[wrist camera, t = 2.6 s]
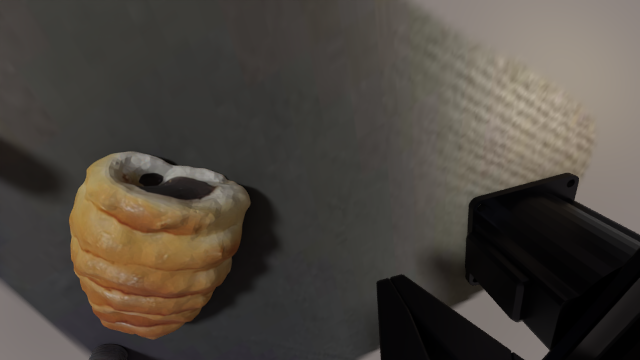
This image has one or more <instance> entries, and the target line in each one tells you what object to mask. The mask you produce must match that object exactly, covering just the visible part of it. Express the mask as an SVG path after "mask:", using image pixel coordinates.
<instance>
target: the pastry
mask: <svg viewBox="0 0 640 360" xmlns="http://www.w3.org/2000/svg"><path fill="white" fill-rule="evenodd" d="M249 206H250V198H249V194H248V193H247V191H246V190H245V189H244V188H243V187H242V186H241V185H238V184H236V183H235V182H234V181H229V180H227V179H226V178H225V176H224V175H222V174H220V173H217V172H214V171H211V170H208V169H205V168H194V167H190V166H173V165H171V164H169V163H167V162H165V161H164V160H162V159H159V158H157V157H154V156H151V155H147V154H142V153H138V152H132V151H131V152H122V153H115V154H110V155H108V156H106V157H104V158H102V159H100V160H98V161H96V162H95V163H93V164H92V165H91V166H90V167H89V168H88V169H87V177H86V179H85V182H84V183H83V184H82V185H81V186H80V188H79V189H78V192H77V194H76V197H75V202H74V208H73V210H72V212H71V215H70V218H69V223H70V228H71V234H72V240H71V259H72V261H73V263H74V271H75V274H76V275H77V276H78V277H79V278H80V283H81V286H82V290H83V291H85V293H86V294H87V296H88V300H89V302H90V304H91V305H92V308H93V312H94V313H95V315H97V316H98V317H99V318H100V320H101V322H102V324H103V325H104V326H105V327H107V328H109V329H112V330H118V331H122V332H126V333H130V334H138V335H139V336H142V337H146V338H149V339H156V338H158V337H161V336H163V335H167V334H169V333H171V332H174V331H175V330H177V329H179V328H180V327H181V326H182V325H183V324H184V323H185V322H190V321H192V320H193V319H194V318H195V317H196V316H197V315H198V314H199V312H200V311H201V308H202V306H204V305H206V303H207V302H208V301H209V300H210V298H211V296H212V294H213V291H214V290H215V288H216V287H217V286H219V285H221V284H222V283H223V281H224V279H225V278H226V276H227V274H228V273H229V272H230V269H231V265H232V256H233V255H234V254H235V253H236V252H237V250H238V247H239V245H240V241H241V235H242V224H243V220H244V215H245V212H246V210H247V209H248V207H249Z"/></svg>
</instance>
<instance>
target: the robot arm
mask: <svg viewBox="0 0 640 360" xmlns="http://www.w3.org/2000/svg"><path fill="white" fill-rule="evenodd" d="M578 182H579V178H578V176H575V175H573V174H571V173H564V174H560V175H556V176H553V177H549V178H545V179H541V180H538V181H534V182H530V183H527V184H523V185H519V186H515V187H512V188H508V189H504V190H500V191H497V192H493V193H489V194H486V195H482V196H478V197H476V198H474V199H473V200H471V202H470V204H469V213H468V234H467V238H466V259H465V268H466V276H465V277H466V280H467V281H468V282H469V283H470V284H471V285H478V284H480V285H481V286H482V287H483V288H484V289H485V291H486V292H487V293H488V294H489V295H490V296H491V297H492V298H493V300H494V301H495V302H496V303H497V304H498V305H499V306H500V307H501V308H502V310H503V311H504V312H505V313H506V314H507V315H508V316H509V318H510V319H512V320H513V321H515V322H520V321H523V322H524V323H525V324H526V325H527V326H528V327H529V329H530V330H531V331H532V332H533V333H534V334H535V335H536V336H537V337H538V338H539V339H540V340H541V341H542V342H543V344H544V345H545V346H546V347H547V348H548V349H549V350H550V351H549V352H548V354H547V355H546V356H545V357H544V358H543V359H542V360H640V235H639V234H637V233H635V232H633V231H631V230H629V229H628V228H626V227H624V226H622V225H620V224H618V223H616V222H614V221H612V220H610V219H609V218H606V217H605V216H603V215H601V214H599V213H597V212H595V211H593V210H591V209H589V208H588V207H586V206H584V205H582V204H580V203H578V202H576V201H574V200H575V195H576V191H577V187H578ZM480 204H481V205H480ZM479 205H480V206H479ZM478 206H479V207H478ZM377 302H378V319H379V336H380V353H381V360H524V359H523V358H521V357H520V356H518V355H517V354H515V353H514V352H513V353H511V350H509V349H508V348H507V347H505V346H504V345H502V344H501V343H499V342H498V341H497V340H495V339H494V338H493V337H491V336H490V335H488V334H487V333H486V332H484V331H483V330H481V329H480V328H478V327H477V326H476V325H474V324H473V323H471V322H470V321H468V320H467V319H466V318H464V317H463V316H461V315H460V314H458V313H457V312H456V311H454V310H453V309H451V308H450V307H449V306H447V305H446V304H444V303H443V302H442V301H440V300H439V299H437V298H436V297H434V296H433V295H432V294H430V293H429V292H427V291H426V290H424V289H423V288H422V287H420V286H419V285H417V284H416V283H415V282H413V281H412V280H410V279H409V278H407V277H406V276H405V275H402V274H401V275H397V276H393V277H391V278H390V279H389V278H386V279H383V280H379V281H377Z"/></svg>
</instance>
